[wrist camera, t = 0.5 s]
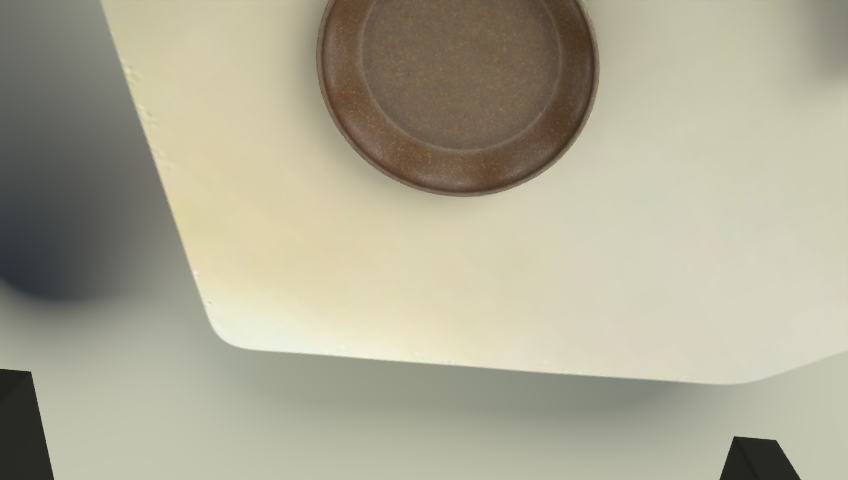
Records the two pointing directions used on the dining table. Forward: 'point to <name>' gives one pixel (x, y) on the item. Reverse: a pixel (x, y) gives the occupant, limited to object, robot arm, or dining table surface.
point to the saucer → (458, 87)
